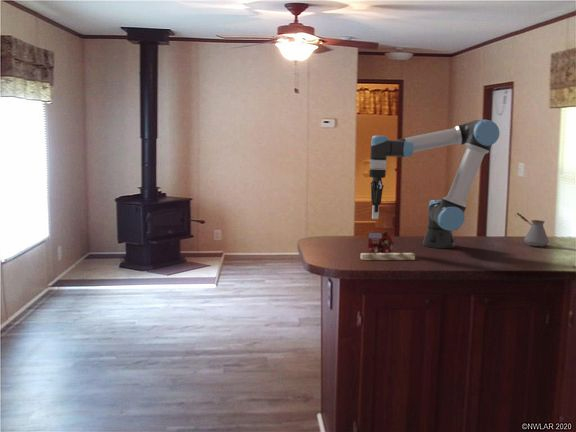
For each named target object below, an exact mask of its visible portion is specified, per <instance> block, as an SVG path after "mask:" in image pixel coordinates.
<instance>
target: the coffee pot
mask: <svg viewBox="0 0 576 432" xmlns="http://www.w3.org/2000/svg"><path fill="white" fill-rule="evenodd" d="M514 216H516V217H517V216H518V217H520V218H521V219H522V220H523V221H525V222H526V223H528V224H529V225H530V228H529V229H528V232H527V234H526V235H525V237H524V242H525V244H527V246H528V245H533V246H544V247H545V246H547V245H548V244H549V239H548V236H547V233H546V229H545V226H544V224H545V223H546V222H545V220H538V219H537V220H536V219H532V220H531V222H530V221H529V220H527V219H526V218H525V216H523V215H522V214H520V213H519V212H516V213H515V215H514Z"/></svg>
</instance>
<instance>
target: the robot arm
mask: <svg viewBox="0 0 576 432" xmlns="http://www.w3.org/2000/svg"><path fill="white" fill-rule="evenodd" d="M499 138H500V128H499V126H498V125H497V123H496V122H494V121H493V120H490V119H489V120H488V119H485V118H483V119H476V120H472V121H469V122H466V123H462V124H458V125H455V126H454V127H453V128H449V129H444V130H443V129H442V130H439V131H433V132H428V133H424V134H418V135H413V136H409V137H404V138H399V139H392V140H391V139H388V136H387V135H373V136H372V137H371V142H370V143H371V144H370V158H369V160H370V161H369V162H368V163H369V168H370V169H369V175H368V176H369V177H370V178H372V181H371V182H370V193H371V195H370V200H371V201H370V202H371V205H372V207H371V209H372V213H371V219H372V220H378V219H379V213H380V212H379V210H380V205H382V195H383V189H384V188H385V187H384V186H385V185H384V184H383V179H382V178H384V179H385V178H386V175H387V174H386V173H387V170H386V169H387V157H392V158H393V157H395V158H411V157H412V156H413V153H416V152H420V151H425V150H430V149H436V148H440V147H445V146H446V147H447V146H451V145H452V146H453V145H458V146H462V145H465V147H466V149H465V151H464V154H463V156H462V159H461V161H460V164H459V166H458V169H457V171H456V174H455V176H454V179H453V181H452V184H451V186H450V188H449V190H448V193H447V195H446V196H444V197H442V199H431V200H429V204H428V213H427V214H428V218H427V230H426V233H425V235H424V238H423V241H422V242H423V243H422V246H425V247H428V248H433V249H453V248H454V247H455V240H454V236H453V231H457V230H458V229H459V228H461V227H462V226H463V224H464V222H465V211H466V209H467V205H466V200H467V198H468V196H469V193H470V190H471V188H472V186H473V183H474V181H475V179H476V176H477V174H478V171H479V169H480V166H481V164H482V162H483V159H484V156H485V155H486V154H488V153H490V151H491V149H492V146H493V145H494V144H495V143H496V142H498V140H499Z"/></svg>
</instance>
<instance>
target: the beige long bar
mask: <svg viewBox="0 0 576 432" xmlns="http://www.w3.org/2000/svg"><path fill="white" fill-rule="evenodd" d="M359 257H360V260H361V259H362V261H411V260H412V261H415V260H416V254H415V253H414V252H391V253H382V252H380V253H371V252H361V253H360V255H359Z"/></svg>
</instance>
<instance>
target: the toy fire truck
mask: <svg viewBox="0 0 576 432" xmlns="http://www.w3.org/2000/svg"><path fill="white" fill-rule="evenodd" d="M366 238H367V248H366V249H367V251H369V253H392V251H394V242H393V240H392V238H391V236H390V235H389V233H388V231H383V232H382V231H367V233H366Z"/></svg>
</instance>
